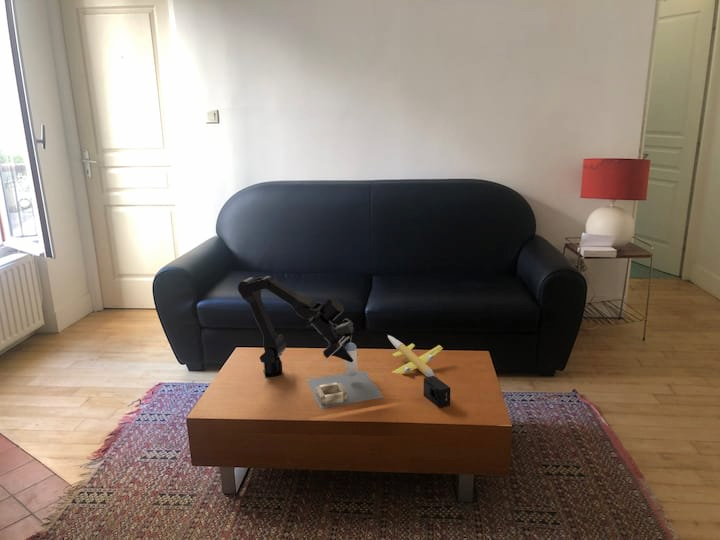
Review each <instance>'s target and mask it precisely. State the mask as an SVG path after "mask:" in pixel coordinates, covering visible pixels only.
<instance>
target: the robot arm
mask: <svg viewBox="0 0 720 540" xmlns="http://www.w3.org/2000/svg"><path fill="white" fill-rule="evenodd" d="M262 290H266V291H268V292H270V293H272V294H273V295H275V296H276V297H277V298H279V299H281V300H282V301H283V302H285V303H286V304H288V305H289V306H291V308H292V309H293V310H294V312H295V313H296V314H297V315H298V316H299V317H300V318H302V319H305V320H306V328H310V327H311V326H312V327H314V328H315V329H316V330H317V332H318V333H319V334H320V335H321V336H320V338H321V339H323V338H324V339H325V340H326V341H327V342H328V344H327V347H326V348H325V349H324V350H323V351H322V352H323V353H322V355H323V356H324V357H325V359H328V358H330V356H332V357H336V358H338V359H341V360H344V361H345V360H346V361H349V362H353V359H352V357H351V356H350V355H349V354H348V352H347V351H346V350H345V346H346V345H347V344H348V343H353V342H352V337H353V335H352V334H353V333H354V332H355V330H354V326H353V325H354V322H353V321H352V320H351V319H350V318H348V317H347V318H345V319H343V320H342V323H341V324H339V325H338V324H337V323H333V321H335V320H336V319H337V318H338V317H339V316H340V315H341V314H342V313H343V312H344V311H345V307H344V305H343V304H342V303H341V302H340V301H338V300H337V299H333V298H332V297H330V298H328V299H327V300H326V302H325V303H322V302H317V301H315V300H314V299H312V298H311V297H307V296H304V295H300V294H298V293H296V292H295V291H293V290H292V289H290V288H288V287H287V286H286V285H284V284H283V283H281V282H279V281H278V280H276V279H275V278H274V277H273V276H272V275H267V276H260V277H257V278H256V277H254V276H253V277H248V278H246V279H244V280H242V281H240V282H239V284H238V286H237V291H238V293H239V295H240V296H241V298H242V299H243V300H244V301H245V302H246V303H247V304H248V305H249V306H250V309H251V311H252V312H251V313H252V314H253V316H254V319H255V322H256V324H257V325H258V328H259V330H260V332H261V335H262V337H263V342H262V343H263V350H264V352H263V353H262V354H261V355H260V356H259V360H260V362H261V363H263V364H262V365H263V375H264V377H265V378H270V377H279V376H282V375H283V373H282V372H283V362H282V359H281V358H280V357H281V356H282V355H283V353H284V351H286V348H287V347H286V344H287V341H285V339H284V335H283V334H282V333H280V334H278V333H277V332H276V331H275V328H274V326H273V323H272V321H271V319H270V316H269V314H268V312H267V310H266V307H265V305H264V303H263V301H262ZM319 313H320V314H319Z"/></svg>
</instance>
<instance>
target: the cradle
mask: <svg viewBox="0 0 720 540" xmlns="http://www.w3.org/2000/svg"><path fill="white" fill-rule="evenodd" d="M334 392H338V393H334ZM328 393H333V394H328ZM324 394H327V395H324ZM316 395H317V397H318V399H319V401H320V403H321V405H322V404H326V405H328V404H334V403H339V402H343V401H344V400H347V392H346V390H345V389H344V387H343V386H342V384H341V383H330V384H323V385H319V386H317V387H316Z"/></svg>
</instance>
